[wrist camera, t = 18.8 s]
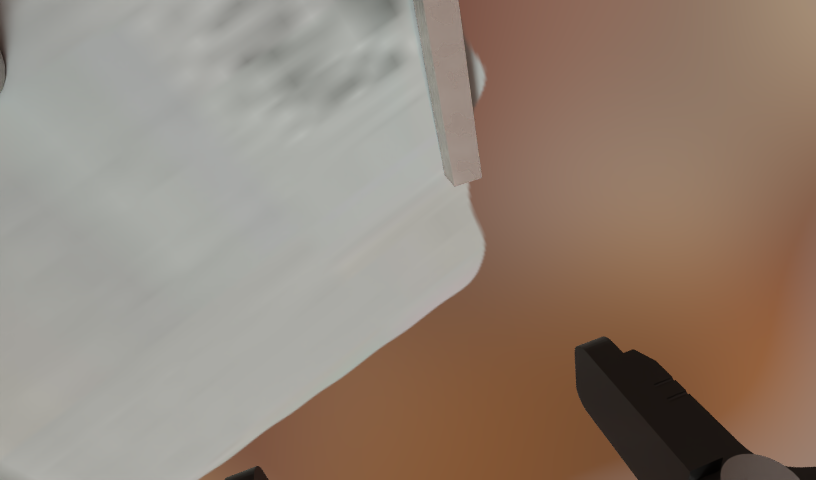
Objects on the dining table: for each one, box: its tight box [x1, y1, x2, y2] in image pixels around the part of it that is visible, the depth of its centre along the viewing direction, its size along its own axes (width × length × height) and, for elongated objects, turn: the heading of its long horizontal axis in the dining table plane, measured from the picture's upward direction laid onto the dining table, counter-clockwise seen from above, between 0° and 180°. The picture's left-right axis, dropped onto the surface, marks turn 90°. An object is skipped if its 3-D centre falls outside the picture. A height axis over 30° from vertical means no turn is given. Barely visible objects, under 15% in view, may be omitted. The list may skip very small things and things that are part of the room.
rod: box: [413, 0, 482, 187], centre depth 44 cm, size 4×22×4 cm, turn 13°
